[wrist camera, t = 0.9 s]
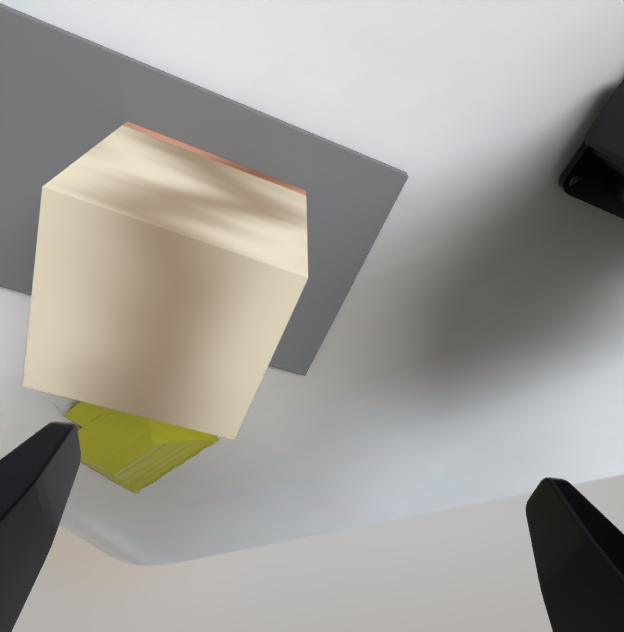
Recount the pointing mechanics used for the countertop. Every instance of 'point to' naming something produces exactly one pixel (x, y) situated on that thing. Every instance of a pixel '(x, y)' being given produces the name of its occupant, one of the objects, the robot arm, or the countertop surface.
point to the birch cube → (163, 281)
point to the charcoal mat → (187, 127)
